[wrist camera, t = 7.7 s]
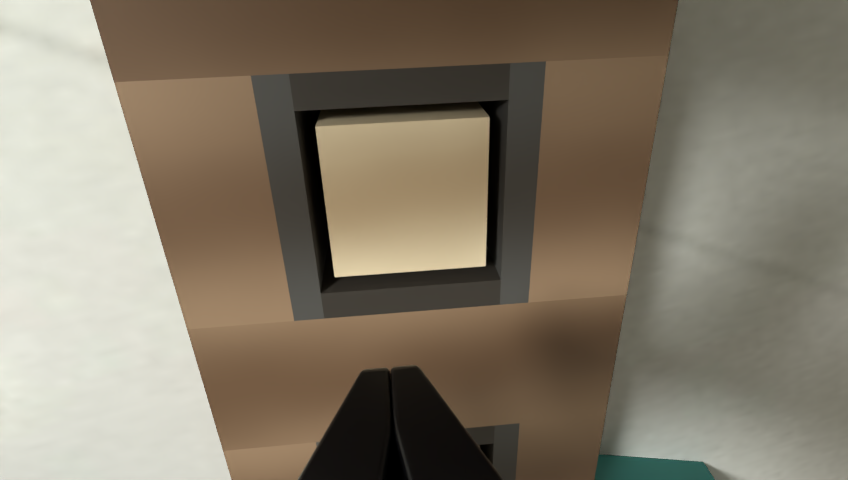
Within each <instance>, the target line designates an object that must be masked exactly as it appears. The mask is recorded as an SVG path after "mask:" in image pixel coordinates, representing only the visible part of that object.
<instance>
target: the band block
mask: <svg viewBox="0 0 848 480" xmlns="http://www.w3.org/2000/svg"><path fill="white" fill-rule="evenodd" d="M90 2H91V5H92V9H93V12H94V15H95V19H96V22H97V25H98V29H99V32H100V36H101V39H102V42H103V46H104V49H105V53H106V56H107V59H108V63H109V66H110V69H111V73H112V76H113V80H114V83H115V86H116V90H117V93H118V97H119V100H120V103H121V107H122V110H123V113H124V117H125V120H126V124H127V127H128V130H129V134H130V137H131V141H132V144H133V147H134V151H135V154H136V157H137V161H138V164H139V168H140V171H141V174H142V178H143V181H144V185H145V188H146V191H147V195H148V198H149V201H150V205H151V208H152V212H153V215H154V218H155V222H156V225H157V229H158V232H159V235H160V239H161V242H162V245H163V249H164V252H165V256H166V259H167V262H168V266H169V269H170V273H171V276H172V279H173V283H174V286H175V289H176V293H177V296H178V300H179V303H180V306H181V310H182V313H183V317H184V320H185V323H186V327H187V330H188V333H189V337H190V340H191V344H192V347H193V350H194V354H195V357H196V361H197V364H198V367H199V371H200V374H201V377H202V381H203V384H204V388H205V391H206V394H207V398H208V401H209V404H210V408H211V411H212V415H213V418H214V421H215V425H216V428H217V432H218V435H219V438H220V442H221V445H222V448H223V452H224V455H225V459H226V462H227V465H228V469H229V472H230V476H231V479H232V480H298V478H299V476H300V475H301V473H302V471H303V469H304V468H305V466H306V464H307V463H308V461H309V459H310V457H311V456H312V454H313V452H314V451H315V449H316V447H317V445H318V444H319V442H320V440H321V439H322V437H323V435H324V433H325V432H326V430H327V428H328V427H329V425H330V423H331V421H332V420H333V418H334V416H335V415H336V413H337V411H338V409H339V408H340V406H341V404H342V403H343V401H344V399H345V397H346V396H347V394H348V392H349V391H350V389H351V387H352V385H353V384H354V382H355V380H356V379H357V377H358V375H359V374H360V372H361V371H362V370H364V369H373V368H388V369H389V371H391V369H392V368H393V367H396V366H408V365H416V366H418V367H419V368H420V369H421V370H422V371H423V373H424V374H425V375H426V377H427V378H428V379H429V381H430V382H431V383H432V385H433V386H434V387H435V389H436V390H437V391H438V393H439V394H440V395H441V397H442V398H443V399H444V401H445V402H446V403H447V405H448V406H449V407H450V409H451V410H452V411H453V413H454V414H455V415H456V417H457V418H458V419H459V421H460V422H461V423H462V425H463V426H464V427H465V429H466V430H467V431H468V433H469V434H470V435H471V437H472V438H473V439H474V441H475V442H476V443H477V445H480V449H481V450H482V452H483V453H484V454H485V456H486V457H487V458H488V460H489V461H490V462H491V464H492V465H493V466H494V468H495V469H496V470H497V472H498V473H499V474H500V476H501V477H502V478H503V480H594V478H595V473H596V467H597V461H598V456H599V450H600V444H601V438H602V433H603V427H604V421H605V416H606V410H607V404H608V398H609V393H610V387H611V381H612V376H613V370H614V364H615V359H616V353H617V347H618V341H619V336H620V330H621V324H622V319H623V313H624V307H625V301H626V296H627V290H628V284H629V279H630V273H631V267H632V262H633V256H634V250H635V244H636V239H637V233H638V227H639V222H640V216H641V210H642V204H643V199H644V193H645V187H646V182H647V176H648V170H649V164H650V159H651V153H652V147H653V142H654V136H655V130H656V125H657V119H658V113H659V107H660V102H661V96H662V90H663V85H664V79H665V73H666V67H667V62H668V56H669V50H670V45H671V39H672V33H673V28H674V22H675V16H676V10H677V5H678V0H90ZM459 102H478V103H479V104H480V105H481V107H482V108H483V109H484V110H485V112H486V113H487V114H488V115H489V117H490V126H489V163H488V200H487V238H486V266H482V267H468V268H454V269H441V270H427V271H414V272H400V273H387V274H373V275H359V276H346V277H334V269H333V261H332V253H331V246H330V238H329V230H328V222H327V214H326V207H325V199H324V191H323V183H322V175H321V168H320V160H319V152H318V144H317V136H316V129H315V126H316V123H317V120H318V117H319V114H320V111H321V110H326V109H345V108H364V107H383V106H402V105H421V104H440V103H459ZM390 378H391V377H390Z"/></svg>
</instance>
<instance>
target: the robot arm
mask: <svg viewBox="0 0 848 480" xmlns="http://www.w3.org/2000/svg"><path fill="white" fill-rule="evenodd" d="M390 377H391V378H390ZM298 480H503V478H502V477H501V476H500V474H499V473H498V472H497V470H496V469H495V468H494V466H493V465H492V464H491V462H490V461H489V460H488V458H487V457H486V456H485V454H484V453H483V452H482V450H481V449H480V447H479V446H478V445H477V443H476V442H475V441H474V439H473V438H472V437H471V435H470V434H469V433H468V431H467V430H466V429H465V427H464V426H463V425H462V423H461V422H460V421H459V419H458V418H457V417H456V415H455V414H454V413H453V411H452V410H451V409H450V407H449V406H448V405H447V403H446V402H445V401H444V399H443V398H442V397H441V395H440V394H439V393H438V391H437V390H436V389H435V387H434V386H433V385H432V383H431V382H430V381H429V379H428V378H427V377H426V375H425V374H424V373H423V371H422V370H421V369H420V368H419V367H418V366H416V365H408V366H396V367H393V368H392V369H391V371H389V369H388V368H373V369H364V370H362V371H361V372H360V374H359V375H358V377H357V379H356V380H355V382H354V384H353V385H352V387H351V389H350V391H349V392H348V394H347V396H346V397H345V399H344V401H343V403H342V404H341V406H340V408H339V409H338V411H337V413H336V415H335V416H334V418H333V420H332V421H331V423H330V425H329V427H328V428H327V430H326V432H325V433H324V435H323V437H322V439H321V440H320V442H319V444H318V445H317V447H316V449H315V451H314V452H313V454H312V456H311V457H310V459H309V461H308V463H307V464H306V466H305V468H304V469H303V471H302V473H301V475H300V476H299V478H298Z"/></svg>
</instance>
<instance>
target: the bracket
mask: <svg viewBox="0 0 848 480" xmlns="http://www.w3.org/2000/svg"><path fill="white" fill-rule="evenodd" d="M594 480H715V479H714V477H713V476H712V474H711V473H710V471H709V470H708V468H707V467H706V466H705V464H704V463H703V462H697V461H683V460H669V459H656V458H642V457H628V456H614V455H601V454H599V456H598V461H597V467H596V473H595V478H594Z"/></svg>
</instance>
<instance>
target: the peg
mask: <svg viewBox="0 0 848 480" xmlns="http://www.w3.org/2000/svg"><path fill="white" fill-rule="evenodd" d="M489 126H490V117H489V115H488V114H487V113H486V112H485V110H484V109H483V108H482V107H481V105H480V104H479V103H478V102H459V103H440V104H421V105H402V106H383V107H364V108H345V109H326V110H321V111H320V114H319V117H318V120H317V123H316V126H315V129H316V136H317V144H318V152H319V160H320V168H321V175H322V183H323V191H324V199H325V207H326V214H327V222H328V230H329V238H330V246H331V253H332V261H333V269H334V277H346V276H359V275H373V274H387V273H400V272H414V271H427V270H441V269H454V268H468V267H482V266H486V238H487V200H488V163H489Z"/></svg>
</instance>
